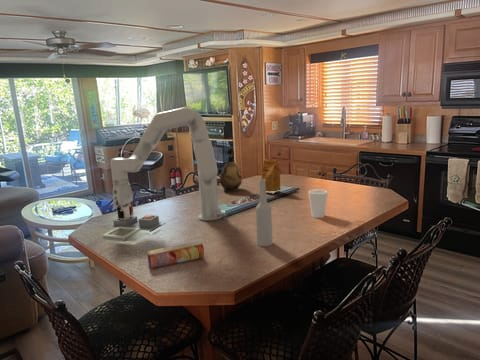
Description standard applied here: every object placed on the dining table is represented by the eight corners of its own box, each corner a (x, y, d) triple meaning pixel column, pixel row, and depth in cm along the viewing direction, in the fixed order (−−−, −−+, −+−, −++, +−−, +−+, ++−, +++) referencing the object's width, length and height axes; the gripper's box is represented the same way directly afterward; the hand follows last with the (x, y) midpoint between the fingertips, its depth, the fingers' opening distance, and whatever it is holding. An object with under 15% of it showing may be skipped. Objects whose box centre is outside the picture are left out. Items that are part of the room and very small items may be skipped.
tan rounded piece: (154, 222, 182) (154, 215, 182) (150, 225, 179) (149, 217, 178) (148, 222, 184) (147, 214, 183) (143, 224, 180) (142, 217, 179)
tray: (140, 232, 176) (139, 228, 175) (124, 241, 165) (124, 236, 164) (120, 230, 180) (119, 226, 179) (103, 239, 169) (103, 234, 168)
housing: (161, 225, 185) (160, 214, 184) (150, 231, 176) (149, 221, 175) (125, 222, 193) (124, 212, 192) (112, 228, 184) (111, 218, 183)
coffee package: (269, 189, 248) (268, 157, 243) (282, 192, 239) (281, 159, 234) (258, 192, 242) (257, 159, 237) (272, 195, 232) (270, 161, 228)
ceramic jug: (242, 192, 244) (240, 148, 238) (219, 193, 244) (217, 149, 238) (242, 186, 260) (240, 145, 254) (221, 187, 261) (218, 146, 255)
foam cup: (329, 214, 189) (329, 189, 186) (325, 219, 180) (325, 194, 178) (311, 212, 193) (310, 189, 190) (306, 217, 184) (306, 193, 182)
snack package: (150, 270, 134) (148, 254, 133) (148, 264, 141) (146, 247, 139) (205, 259, 142) (203, 243, 140) (201, 253, 148) (199, 238, 146)
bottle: (261, 247, 150) (258, 182, 144) (254, 242, 156) (251, 179, 150) (275, 244, 152) (273, 179, 146) (268, 239, 158) (265, 177, 152)
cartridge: (132, 221, 188) (130, 203, 186) (126, 224, 183) (124, 206, 181) (124, 221, 190) (122, 202, 188) (118, 224, 185) (116, 205, 183)
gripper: (115, 186, 173) (120, 222, 177) (137, 178, 188) (141, 212, 192) (103, 185, 176) (107, 221, 179) (125, 178, 191) (129, 211, 195)
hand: (124, 216), depth 186 cm, fingers closed on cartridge, 5 cm apart
